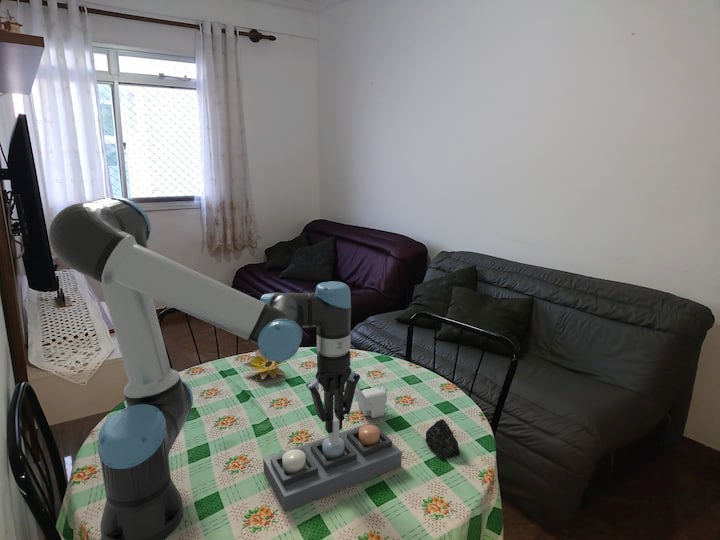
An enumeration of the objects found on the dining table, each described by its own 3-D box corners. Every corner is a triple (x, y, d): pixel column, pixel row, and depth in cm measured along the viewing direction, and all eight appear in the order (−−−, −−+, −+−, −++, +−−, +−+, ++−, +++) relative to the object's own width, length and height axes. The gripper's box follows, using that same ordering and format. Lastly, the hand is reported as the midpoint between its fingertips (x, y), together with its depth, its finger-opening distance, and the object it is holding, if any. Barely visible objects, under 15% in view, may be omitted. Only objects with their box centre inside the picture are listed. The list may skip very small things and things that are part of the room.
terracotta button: (365, 448, 107) (365, 439, 106) (354, 437, 111) (355, 428, 111) (383, 442, 110) (383, 433, 109) (372, 431, 114) (372, 422, 113)
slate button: (328, 462, 102) (328, 452, 102) (318, 449, 107) (318, 440, 106) (348, 455, 105) (348, 445, 104) (338, 442, 109) (338, 434, 108)
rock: (440, 463, 110) (442, 443, 108) (419, 439, 119) (420, 420, 117) (464, 456, 113) (465, 436, 111) (441, 433, 122) (442, 415, 120)
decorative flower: (236, 365, 155) (242, 338, 153) (264, 363, 162) (269, 337, 161) (257, 384, 144) (264, 356, 143) (286, 381, 152) (292, 354, 150)
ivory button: (287, 477, 97) (287, 467, 97) (279, 463, 102) (278, 453, 101) (309, 469, 100) (309, 459, 99) (300, 456, 104) (300, 446, 104)
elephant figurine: (366, 428, 123) (366, 399, 121) (349, 406, 134) (349, 379, 132) (396, 420, 127) (397, 392, 125) (377, 399, 138) (378, 373, 135)
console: (285, 512, 94) (284, 490, 92) (263, 472, 105) (262, 452, 104) (401, 466, 108) (401, 446, 107) (371, 435, 120) (371, 417, 119)
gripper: (314, 363, 93) (315, 460, 99) (367, 350, 99) (365, 442, 105) (300, 350, 99) (302, 442, 105) (350, 339, 105) (350, 426, 111)
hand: (333, 442), depth 105 cm, fingers closed
